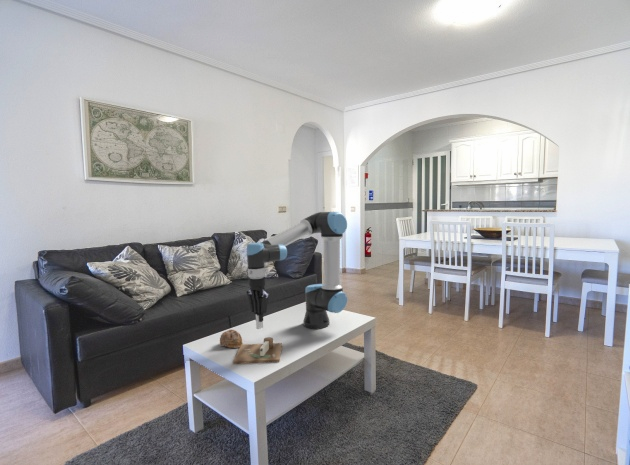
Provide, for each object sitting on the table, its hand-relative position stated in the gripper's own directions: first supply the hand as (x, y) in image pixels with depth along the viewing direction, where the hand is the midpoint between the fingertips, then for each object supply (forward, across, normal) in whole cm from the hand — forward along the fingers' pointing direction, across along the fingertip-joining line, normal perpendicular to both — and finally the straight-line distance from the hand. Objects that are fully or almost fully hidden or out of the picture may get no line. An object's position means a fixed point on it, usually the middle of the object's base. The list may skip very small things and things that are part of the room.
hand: (259, 328), depth 151 cm
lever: (+12, +1, +2) cm, 12 cm away
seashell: (+13, -21, -1) cm, 25 cm away
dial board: (+13, -2, 0) cm, 13 cm away
